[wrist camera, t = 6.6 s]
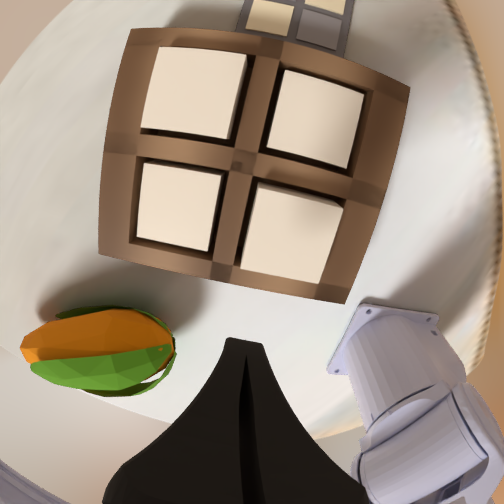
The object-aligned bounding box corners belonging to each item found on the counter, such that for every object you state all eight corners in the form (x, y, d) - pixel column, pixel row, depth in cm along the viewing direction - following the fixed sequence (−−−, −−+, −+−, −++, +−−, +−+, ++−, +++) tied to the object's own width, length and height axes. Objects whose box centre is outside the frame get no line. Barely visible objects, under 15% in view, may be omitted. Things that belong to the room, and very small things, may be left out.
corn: (182, 420, 16) (25, 399, 18) (200, 354, 23) (55, 360, 25) (132, 338, 14) (-13, 343, 16) (170, 281, 21) (26, 308, 23)
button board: (385, 93, 15) (410, 87, 11) (331, 278, 20) (344, 304, 17) (151, 44, 13) (131, 28, 10) (121, 234, 19) (98, 253, 16)
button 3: (225, 171, 16) (221, 175, 14) (212, 239, 18) (207, 251, 16) (156, 159, 16) (144, 163, 14) (148, 226, 17) (136, 236, 16)
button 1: (333, 200, 15) (343, 208, 13) (312, 268, 17) (318, 283, 15) (258, 181, 15) (258, 187, 13) (241, 253, 17) (240, 268, 15)
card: (353, -10, 11) (356, -13, 11) (340, 62, 14) (343, 60, 13) (257, -34, 11) (257, -38, 10) (234, 37, 14) (233, 34, 13)
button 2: (352, 98, 14) (363, 94, 12) (336, 164, 16) (346, 168, 14) (281, 77, 14) (285, 69, 12) (265, 146, 15) (267, 146, 14)
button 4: (247, 65, 12) (246, 54, 10) (230, 139, 14) (226, 139, 12) (170, 56, 12) (159, 46, 10) (154, 128, 14) (140, 127, 12)
